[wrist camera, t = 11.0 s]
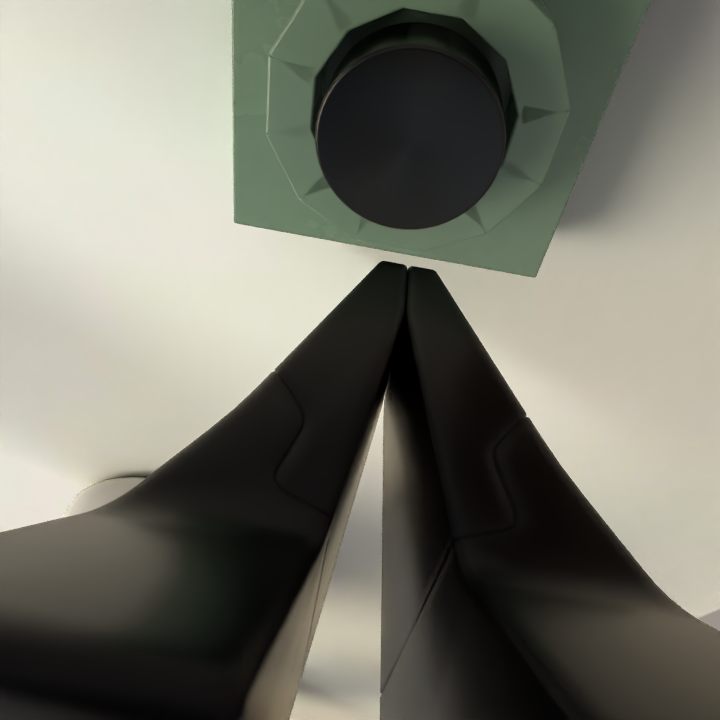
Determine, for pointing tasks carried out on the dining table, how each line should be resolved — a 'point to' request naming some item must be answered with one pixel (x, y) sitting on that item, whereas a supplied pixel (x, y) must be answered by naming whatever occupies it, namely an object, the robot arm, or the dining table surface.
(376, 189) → the button
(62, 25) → the dining table surface
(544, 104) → the button box
